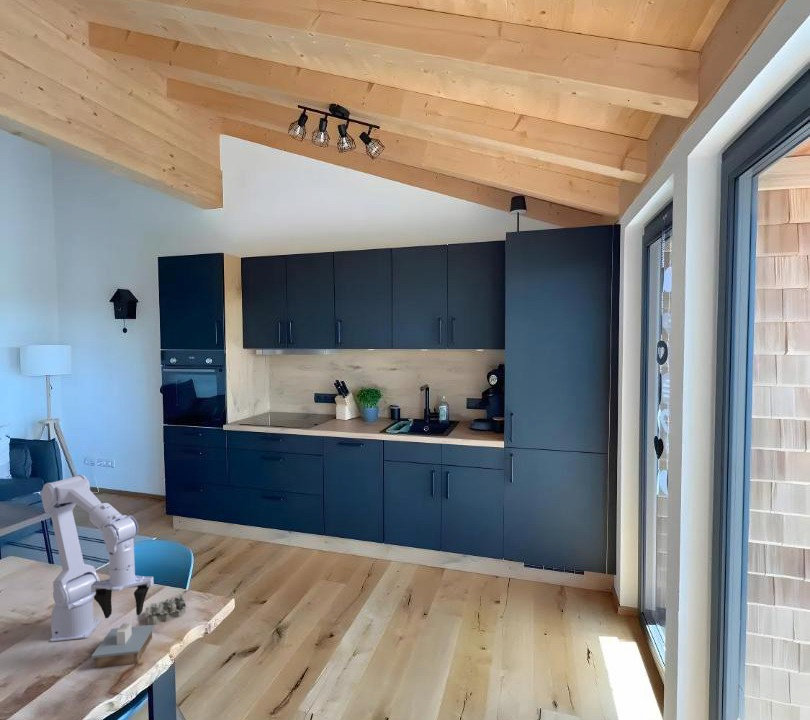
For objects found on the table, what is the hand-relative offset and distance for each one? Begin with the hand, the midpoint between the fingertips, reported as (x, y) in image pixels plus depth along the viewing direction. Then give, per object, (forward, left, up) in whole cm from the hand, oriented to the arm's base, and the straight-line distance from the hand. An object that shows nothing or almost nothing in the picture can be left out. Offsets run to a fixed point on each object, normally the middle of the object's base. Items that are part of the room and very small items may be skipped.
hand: (124, 614), depth 124 cm
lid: (0, 0, -7) cm, 7 cm away
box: (0, 0, -10) cm, 10 cm away
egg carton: (+5, +16, -11) cm, 20 cm away
